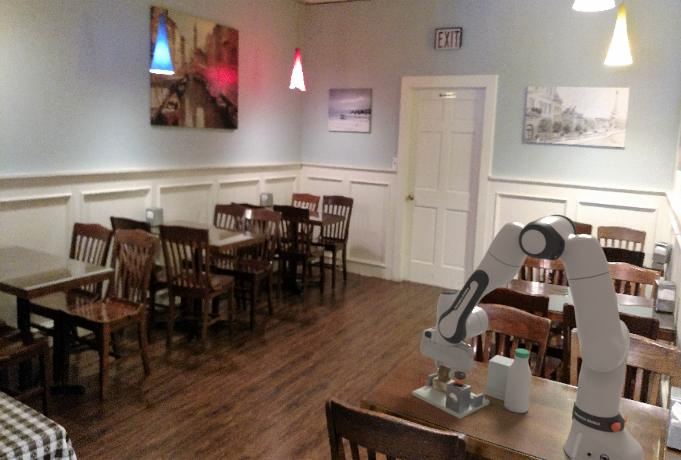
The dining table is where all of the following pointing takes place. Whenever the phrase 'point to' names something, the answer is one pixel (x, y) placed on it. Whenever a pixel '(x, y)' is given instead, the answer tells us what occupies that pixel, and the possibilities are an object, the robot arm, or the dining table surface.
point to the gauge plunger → (459, 379)
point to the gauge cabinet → (458, 397)
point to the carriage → (442, 378)
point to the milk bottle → (518, 383)
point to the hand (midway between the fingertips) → (444, 374)
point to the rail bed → (439, 398)
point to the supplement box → (497, 376)
